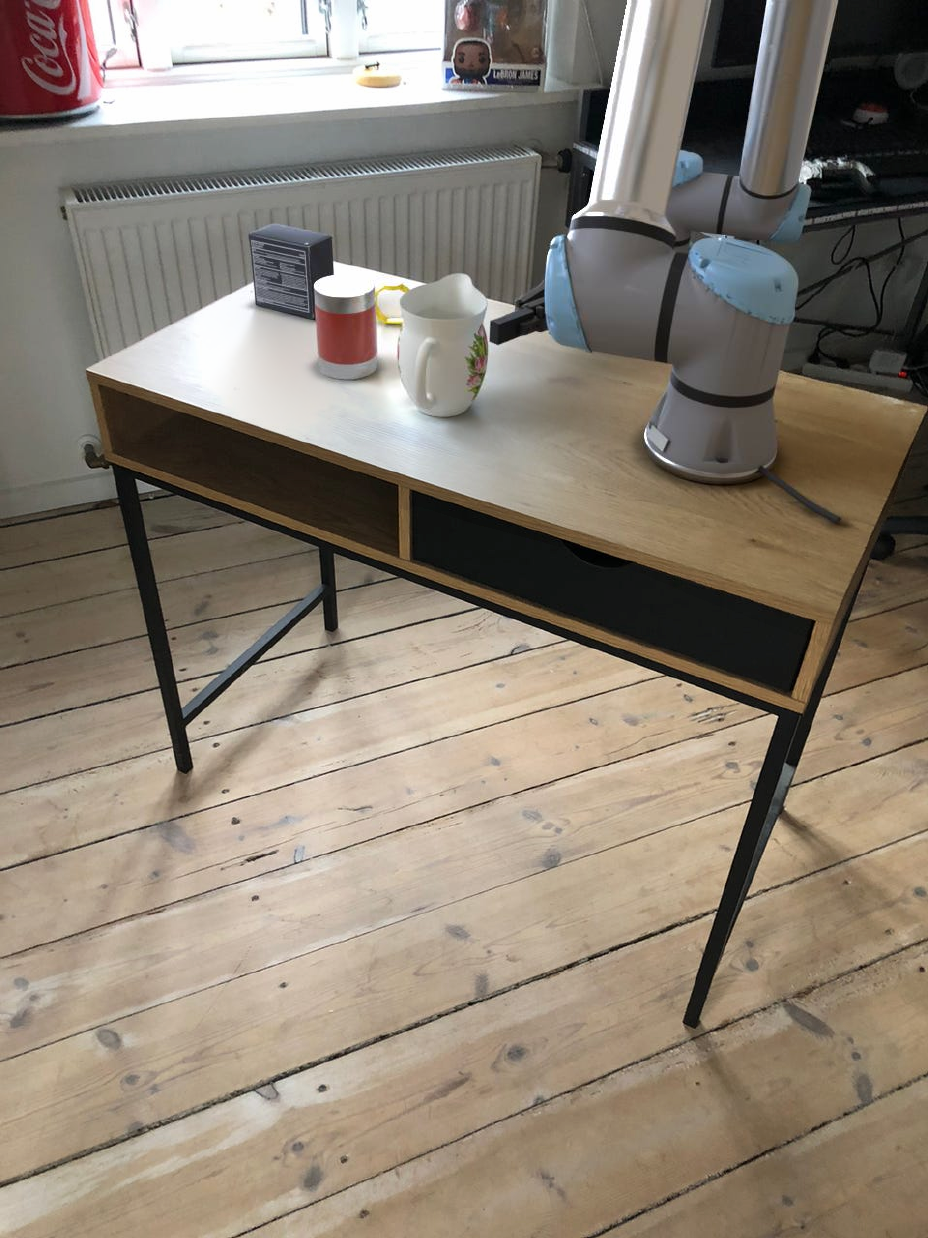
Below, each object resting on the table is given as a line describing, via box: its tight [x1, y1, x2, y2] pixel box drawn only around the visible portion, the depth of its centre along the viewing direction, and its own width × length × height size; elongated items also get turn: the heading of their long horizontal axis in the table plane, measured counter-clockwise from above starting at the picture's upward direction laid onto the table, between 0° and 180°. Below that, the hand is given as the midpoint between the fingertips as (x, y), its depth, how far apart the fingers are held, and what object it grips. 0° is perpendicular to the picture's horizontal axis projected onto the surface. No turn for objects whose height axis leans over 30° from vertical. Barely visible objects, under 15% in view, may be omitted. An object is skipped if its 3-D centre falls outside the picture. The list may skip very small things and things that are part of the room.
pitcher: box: [396, 272, 489, 418], centre depth 123 cm, size 11×18×14 cm, turn 165°
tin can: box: [314, 274, 378, 381], centre depth 132 cm, size 8×8×11 cm
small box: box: [247, 223, 335, 320], centre depth 148 cm, size 11×6×10 cm, turn 62°
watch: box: [375, 278, 411, 325], centre depth 145 cm, size 6×3×6 cm, turn 81°
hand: (494, 332), depth 128 cm, fingers closed
